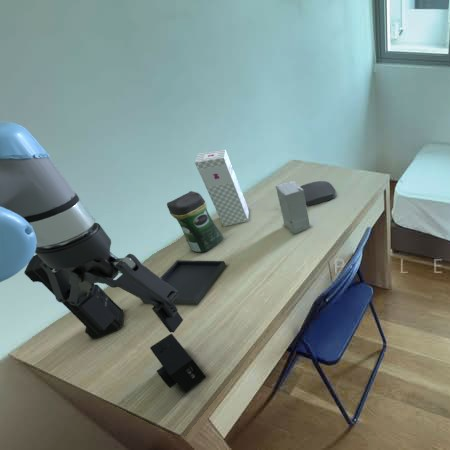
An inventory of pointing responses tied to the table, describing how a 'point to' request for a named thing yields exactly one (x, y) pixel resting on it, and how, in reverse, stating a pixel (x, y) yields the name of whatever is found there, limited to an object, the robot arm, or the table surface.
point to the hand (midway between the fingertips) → (142, 325)
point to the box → (222, 186)
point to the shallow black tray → (192, 279)
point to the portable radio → (92, 330)
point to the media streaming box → (318, 192)
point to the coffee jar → (195, 221)
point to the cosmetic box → (293, 206)
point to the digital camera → (176, 364)
